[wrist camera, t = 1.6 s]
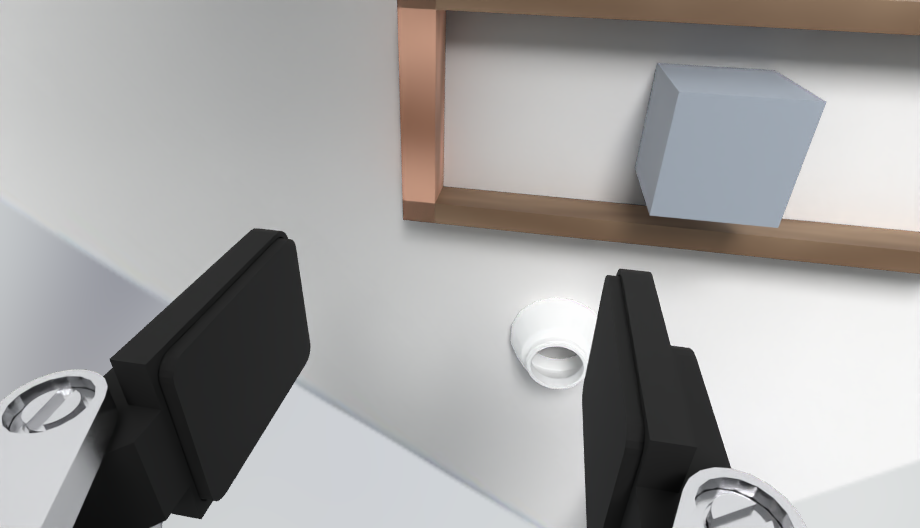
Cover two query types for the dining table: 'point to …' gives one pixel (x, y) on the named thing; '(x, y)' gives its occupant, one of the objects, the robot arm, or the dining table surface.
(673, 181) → the grey block
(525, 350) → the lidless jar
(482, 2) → the guide channel
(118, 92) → the dining table surface
